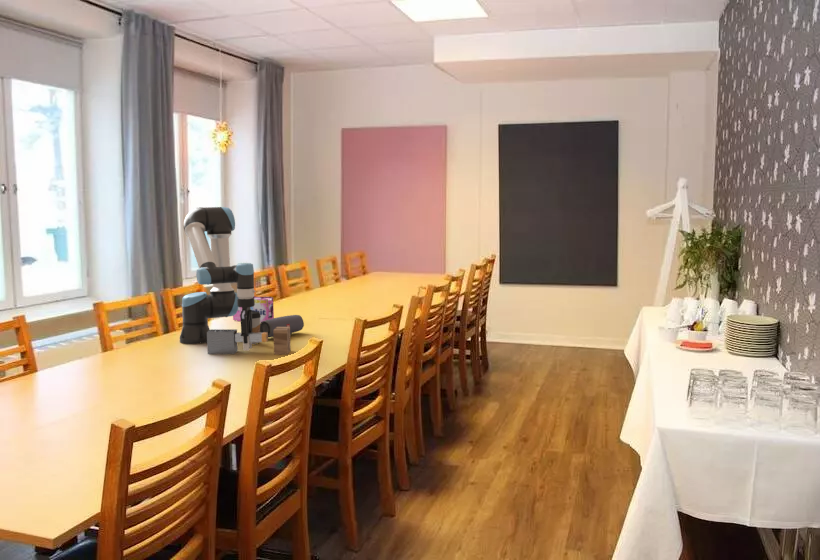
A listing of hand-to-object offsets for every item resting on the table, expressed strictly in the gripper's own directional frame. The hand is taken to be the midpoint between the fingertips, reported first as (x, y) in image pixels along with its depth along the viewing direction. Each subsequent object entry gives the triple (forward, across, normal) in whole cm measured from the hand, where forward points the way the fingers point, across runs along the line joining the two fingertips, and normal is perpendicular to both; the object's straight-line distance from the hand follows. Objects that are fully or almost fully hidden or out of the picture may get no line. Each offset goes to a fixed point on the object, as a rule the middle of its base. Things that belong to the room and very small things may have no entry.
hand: (247, 349), depth 326 cm
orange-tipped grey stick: (-4, 0, +4) cm, 5 cm away
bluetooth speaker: (+2, +37, -9) cm, 38 cm away
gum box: (+2, +82, +16) cm, 83 cm away
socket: (+2, 0, -16) cm, 16 cm away
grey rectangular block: (+2, 0, +11) cm, 11 cm away
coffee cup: (+2, +20, +2) cm, 20 cm away
